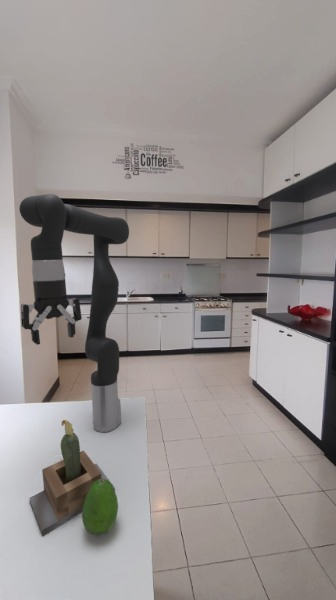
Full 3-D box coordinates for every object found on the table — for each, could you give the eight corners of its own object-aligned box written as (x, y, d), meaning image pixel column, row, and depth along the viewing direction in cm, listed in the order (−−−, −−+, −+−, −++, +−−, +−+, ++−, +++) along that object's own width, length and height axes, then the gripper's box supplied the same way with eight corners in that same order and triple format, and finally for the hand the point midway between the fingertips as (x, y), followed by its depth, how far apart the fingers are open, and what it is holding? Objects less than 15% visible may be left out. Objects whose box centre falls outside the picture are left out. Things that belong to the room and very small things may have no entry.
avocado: (120, 539, 60) (118, 490, 58) (83, 550, 57) (79, 500, 56) (116, 507, 67) (115, 463, 65) (83, 516, 65) (80, 471, 63)
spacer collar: (96, 468, 80) (95, 444, 79) (115, 492, 72) (113, 466, 71) (29, 503, 69) (27, 476, 68) (42, 536, 60) (39, 506, 59)
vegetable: (85, 487, 72) (81, 416, 68) (75, 501, 68) (70, 427, 64) (71, 483, 73) (66, 413, 70) (60, 496, 69) (54, 423, 66)
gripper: (71, 276, 76) (75, 332, 79) (14, 279, 67) (21, 342, 70) (82, 277, 71) (86, 337, 73) (21, 281, 62) (28, 350, 64)
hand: (54, 340), depth 72 cm, fingers open, 8 cm apart
